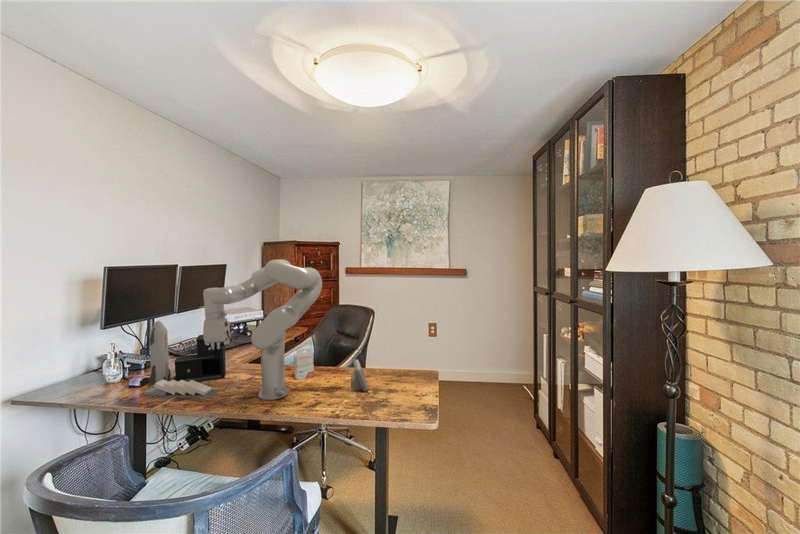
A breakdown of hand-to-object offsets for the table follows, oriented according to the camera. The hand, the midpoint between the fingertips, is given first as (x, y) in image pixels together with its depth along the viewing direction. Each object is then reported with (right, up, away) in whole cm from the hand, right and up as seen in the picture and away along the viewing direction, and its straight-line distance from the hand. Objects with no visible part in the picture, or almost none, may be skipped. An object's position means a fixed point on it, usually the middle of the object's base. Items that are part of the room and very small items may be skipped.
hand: (218, 357), depth 155 cm
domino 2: (-18, -15, +2) cm, 24 cm away
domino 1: (-23, -15, +2) cm, 28 cm away
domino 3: (-14, -15, +1) cm, 21 cm away
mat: (-13, -17, +1) cm, 21 cm away
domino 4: (-9, -15, +1) cm, 18 cm away
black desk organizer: (-20, -16, +21) cm, 33 cm away
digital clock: (+62, -15, +8) cm, 64 cm away
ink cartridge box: (+32, -15, +22) cm, 41 cm away
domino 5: (-5, -15, +1) cm, 16 cm away
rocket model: (-38, -17, +18) cm, 45 cm away
